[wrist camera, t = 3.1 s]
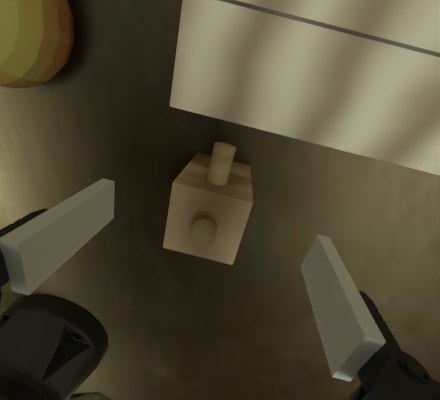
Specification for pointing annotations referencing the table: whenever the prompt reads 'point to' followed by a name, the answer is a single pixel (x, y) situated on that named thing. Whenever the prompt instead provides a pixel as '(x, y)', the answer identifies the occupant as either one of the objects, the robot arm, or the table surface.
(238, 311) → the table surface
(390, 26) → the board
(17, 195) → the table surface
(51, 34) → the apple
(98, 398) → the stone slab
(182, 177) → the beige wooden block
